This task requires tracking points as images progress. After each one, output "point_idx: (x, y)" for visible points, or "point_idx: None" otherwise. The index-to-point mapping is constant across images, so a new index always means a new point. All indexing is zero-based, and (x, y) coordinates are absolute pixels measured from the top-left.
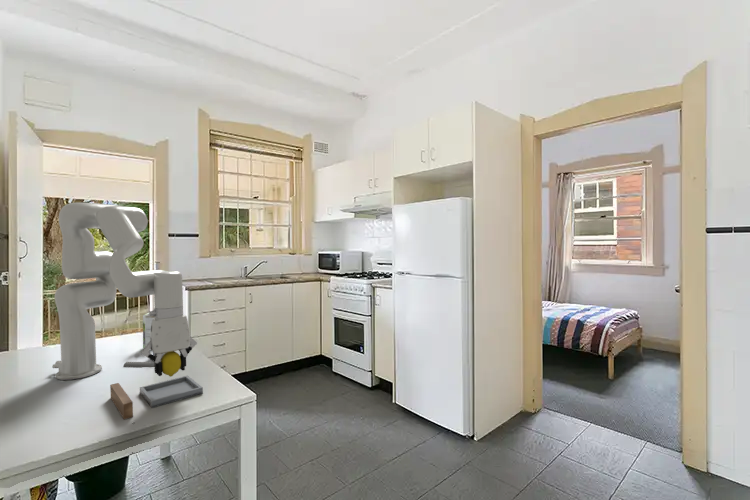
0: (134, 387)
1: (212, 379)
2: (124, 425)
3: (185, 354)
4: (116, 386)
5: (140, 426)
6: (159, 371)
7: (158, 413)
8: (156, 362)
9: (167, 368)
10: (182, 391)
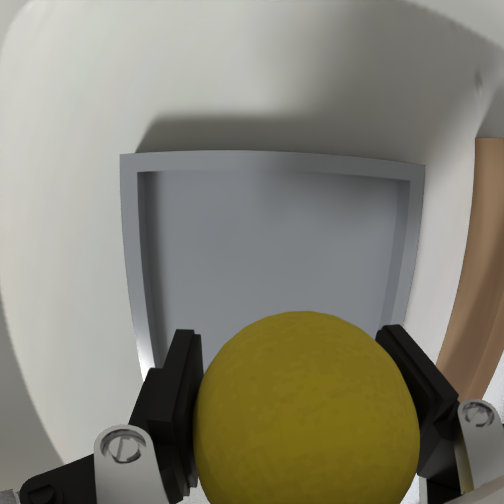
0: None
1: (52, 318)
2: (499, 91)
3: (121, 455)
4: (473, 398)
5: (463, 31)
6: (414, 345)
7: (400, 74)
8: (474, 407)
9: (369, 336)
10: (223, 243)
